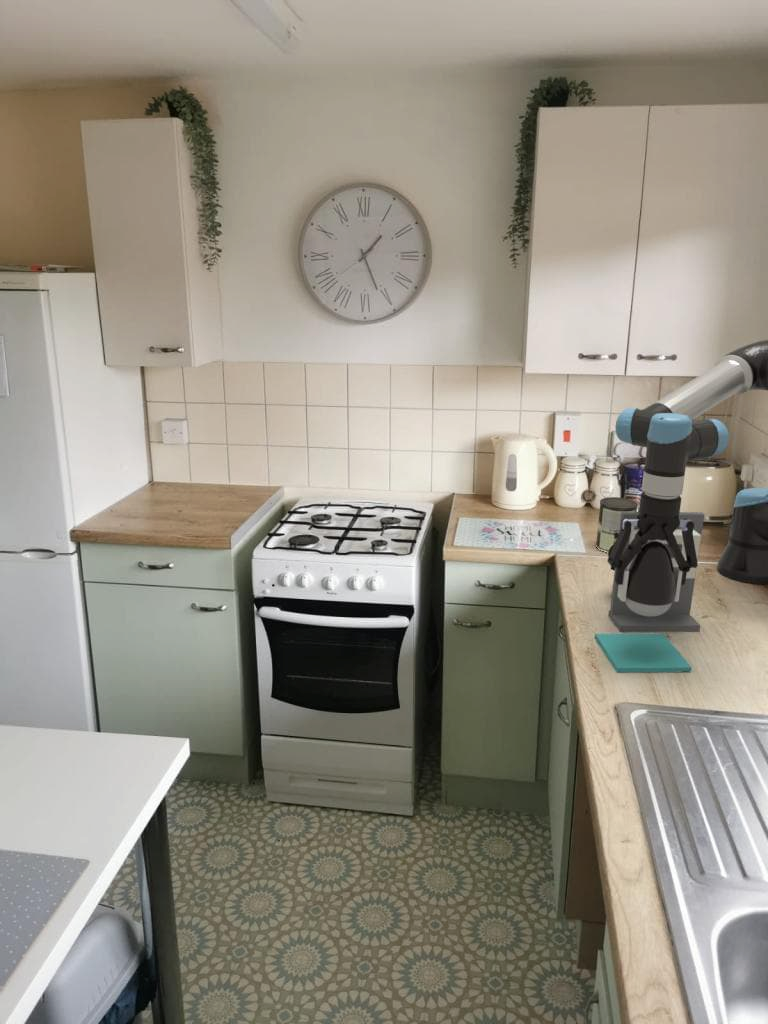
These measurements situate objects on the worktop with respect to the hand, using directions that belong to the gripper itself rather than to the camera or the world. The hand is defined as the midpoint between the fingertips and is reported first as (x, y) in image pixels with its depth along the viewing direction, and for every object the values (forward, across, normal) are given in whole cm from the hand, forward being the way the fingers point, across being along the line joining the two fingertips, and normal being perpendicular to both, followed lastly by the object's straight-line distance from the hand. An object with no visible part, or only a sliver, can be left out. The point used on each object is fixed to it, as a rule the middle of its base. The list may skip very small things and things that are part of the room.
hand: (647, 598), depth 155 cm
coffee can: (+13, -15, -64) cm, 67 cm away
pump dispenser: (+3, 0, 0) cm, 3 cm away
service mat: (+13, 0, 0) cm, 13 cm away
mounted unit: (+13, -8, -15) cm, 21 cm away
